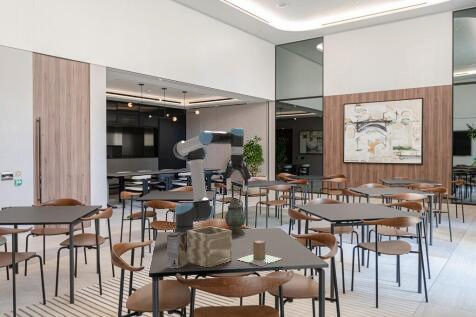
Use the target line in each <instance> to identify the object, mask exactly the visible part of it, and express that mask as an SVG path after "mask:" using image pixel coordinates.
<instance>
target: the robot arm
mask: <svg viewBox="0 0 476 317" xmlns="http://www.w3.org/2000/svg"><path fill="white" fill-rule="evenodd" d="M244 142H245V134H244V128H242V127H232V128H231V129H230V131H217V130H215V131H213V130H203V131H200V133H199V135H196V136H195V137H191V138H190V139H188V140H187V139H186V140H181V141H179V142H177V143H175V145H174V147H172V148H173V149H172V150H173V154H174V156H175V157H176V158H177V159H180V160H186V161H187V162H186V163H187V164H189V169H190V175H191V176H190V177H191V184H192V186H191V187H192V192H193V200H192V202H181V203H179V204H177V205H176V206H175V211H174V214H175V217H174V218H175V222H174V224H175V227H174V231H173V233H175V232H186V233H187V231H188V230H193V229H195V228H194V223H198V222H206V221H210V220H212V218H213V216H214V214H215V206H214V205H213V203H212V202H210V199H209V198H208V197H207V188H206V182H205V174H204V167H203V163H204V161H205V158H206V157H207V154H208V153H207V148H206V146H209V145H230V161H229V162H227V164H226V167H225V170H224V174H223V178H225V183H226V190H231V189H232V188H231V187H232V186H231V182H232V178H231V177H232V175H233V174H234V171H238V172H239V173H240V175H241V176H242V192H248V185H249V180H251V175H250V172H249V171H250V170H249V168H248V163H247V162H244V155H243V154H244V144H245V143H244Z"/></svg>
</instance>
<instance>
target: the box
mask: <svg viewBox="0 0 476 317" xmlns="http://www.w3.org/2000/svg"><path fill="white" fill-rule="evenodd" d="M207 232H213V233H214V234H209V235H207V234H203V233H207ZM232 237H233V236H232V230H229V229H228V228H227V229H226V228H222V227H217V226H216V227H215V226H213V225H209V226H205V227H199V228H194V229H193V230H188V231H187V263H189V264H193V265H196V266H199V265H200V266H199V267H202V266H204V267H203V268H205V267H211V268H213V267H212V266H214V267H216V266H215V265H218V266H220V265H219V264H221V265H223V264H222V263H224V264H227V263H226V262H228V263H230V262H229V261H231V262H232V261H233V260H232V259H233V254H232V253H233V250H232V249H233V246H232V244H233V239H232Z"/></svg>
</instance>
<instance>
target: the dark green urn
mask: <svg viewBox="0 0 476 317" xmlns="http://www.w3.org/2000/svg"><path fill="white" fill-rule="evenodd" d="M243 208H244V206H243V205H242V204H241V202H240V201H239V200H238V198H237V197H234V198H233V199H232V200H230V201H229V204H228V206H227V211H226V213H225V216H224V219H225V223H226V225H227V227H229V229H228V230H232V237H234V236H235V237H237V236H244V235H245V234H246V232H245V231H244V230H243V229H242V228H241V227H243V225H244V224H245V222H246V213H245V212H244V210H243Z"/></svg>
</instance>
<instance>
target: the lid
mask: <svg viewBox="0 0 476 317" xmlns="http://www.w3.org/2000/svg"><path fill="white" fill-rule="evenodd" d="M252 246H253V248H252V251H253V252H252V254H249V255H245V256H243V257H240V258H236V259H237V260H236V261H238V260H240V261H239V262H241V261H244V262H243V263H245V262H266V263H267V262H268V263H270V262H274V263H276V262H275V261H277V262H279V261H278V260H280V261H282V260H281V259H282V257H277V256H272V255H270V254H269V255H267V254H266V241H264V240H255V241H253V242H252Z"/></svg>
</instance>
